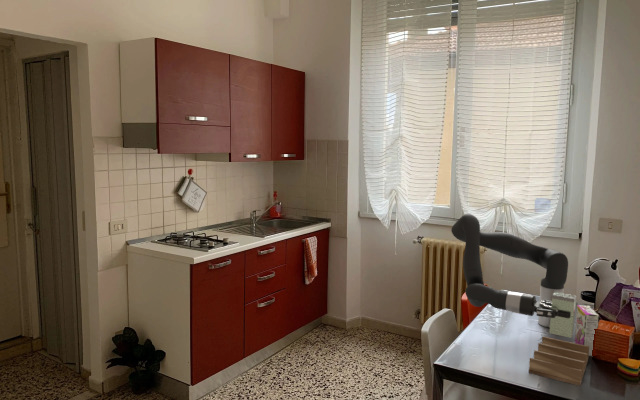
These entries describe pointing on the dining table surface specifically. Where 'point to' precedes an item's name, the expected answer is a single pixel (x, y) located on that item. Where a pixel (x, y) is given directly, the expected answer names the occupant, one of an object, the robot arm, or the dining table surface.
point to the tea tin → (560, 323)
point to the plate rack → (560, 360)
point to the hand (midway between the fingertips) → (571, 313)
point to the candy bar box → (586, 326)
